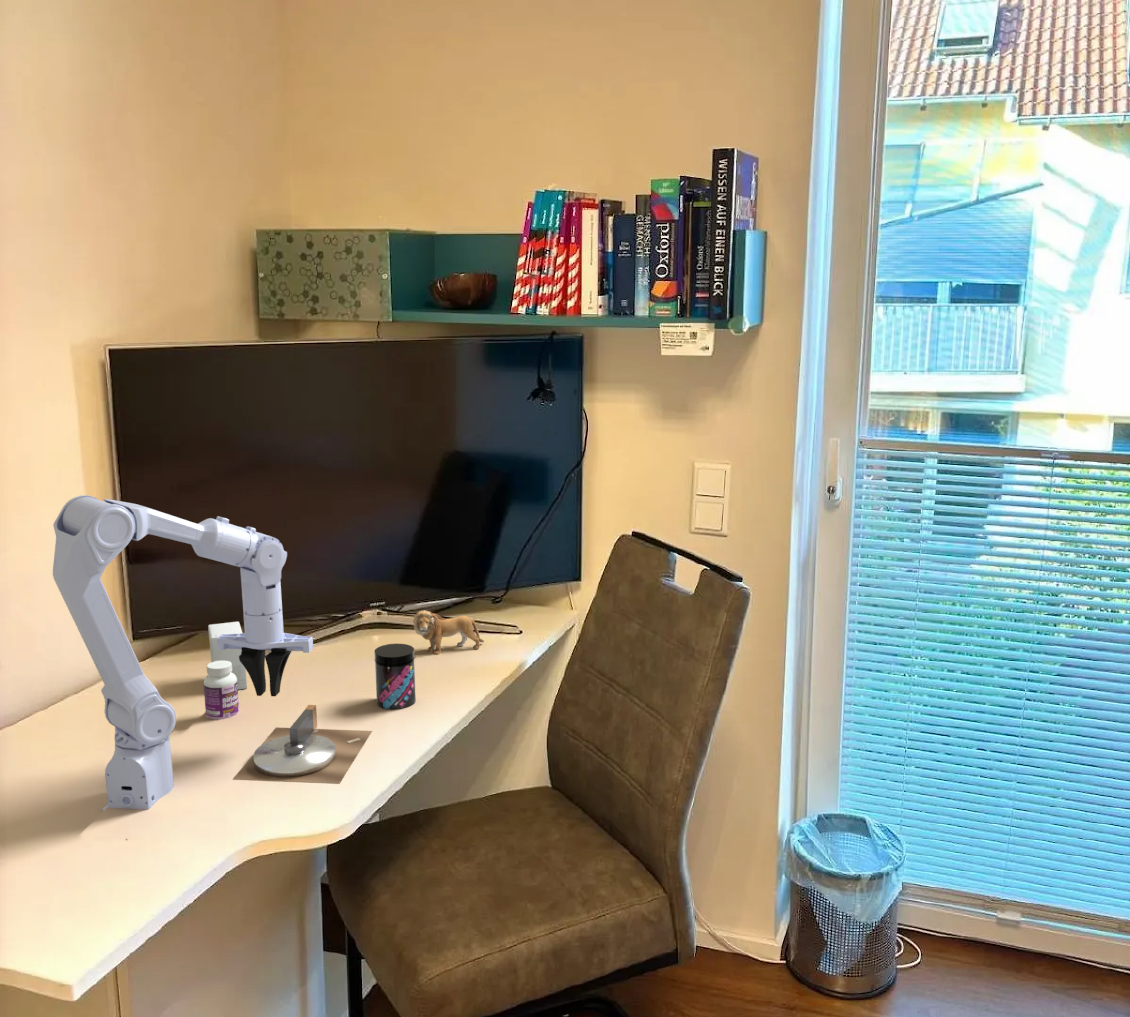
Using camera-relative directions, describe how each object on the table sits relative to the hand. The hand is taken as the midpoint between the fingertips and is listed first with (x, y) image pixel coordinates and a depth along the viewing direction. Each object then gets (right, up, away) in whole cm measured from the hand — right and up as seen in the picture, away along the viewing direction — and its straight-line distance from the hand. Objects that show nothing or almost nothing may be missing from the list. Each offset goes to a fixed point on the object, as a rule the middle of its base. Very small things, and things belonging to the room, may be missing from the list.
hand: (268, 693), depth 164 cm
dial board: (+6, -10, -1) cm, 12 cm away
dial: (+5, -9, -2) cm, 10 cm away
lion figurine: (+23, 0, +45) cm, 51 cm away
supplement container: (+17, -6, +18) cm, 26 cm away
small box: (-15, -3, +29) cm, 33 cm away
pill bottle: (-12, -7, +14) cm, 19 cm away
